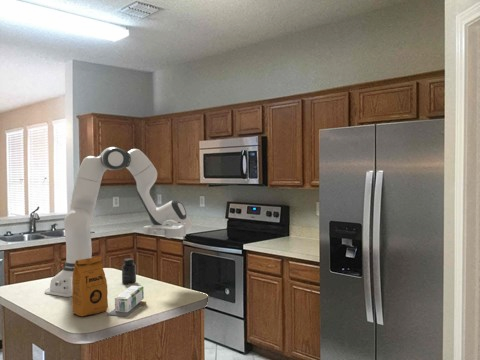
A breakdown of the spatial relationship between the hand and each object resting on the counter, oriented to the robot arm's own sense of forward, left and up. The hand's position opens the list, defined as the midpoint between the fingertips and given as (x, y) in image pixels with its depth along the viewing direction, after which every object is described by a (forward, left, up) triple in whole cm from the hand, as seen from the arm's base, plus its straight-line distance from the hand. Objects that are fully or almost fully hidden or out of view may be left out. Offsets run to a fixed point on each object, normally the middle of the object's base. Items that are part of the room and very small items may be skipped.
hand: (154, 232), depth 188 cm
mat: (-3, -24, -28) cm, 37 cm away
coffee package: (-15, -29, -28) cm, 43 cm away
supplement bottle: (-20, +14, -28) cm, 37 cm away
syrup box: (-2, -13, -24) cm, 27 cm away
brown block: (-2, -16, -28) cm, 32 cm away
